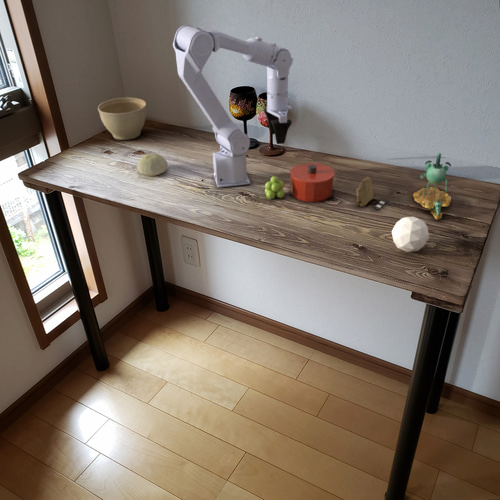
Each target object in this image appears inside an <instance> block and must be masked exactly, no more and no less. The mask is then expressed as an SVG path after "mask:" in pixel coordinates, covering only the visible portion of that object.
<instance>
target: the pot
mask: <svg viewBox="0 0 500 500" xmlns="http://www.w3.org/2000/svg"><path fill="white" fill-rule="evenodd" d="M333 188H334V178H333V179H331V180H330V181H328V182H325V183H319V184H307V183H302V182H298V181H296V180H294V179H293V178H292V177H291V176H290V189H289V190H290V194H291V196H292V197H293V198H295V199H296V200H298V201H303V202H308V203H317V202H323V201H326V200H329V198H330V197H331V196H332V195H333V190H334V189H333Z"/></svg>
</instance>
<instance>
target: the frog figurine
mask: <svg viewBox="0 0 500 500" xmlns="http://www.w3.org/2000/svg"><path fill="white" fill-rule="evenodd" d="M441 158H442V153H441V152H439V153H437V154H436V158H435V159H436V160H435V163H432V160H427V161H425V162H424V166H425V171H424V173H423V174H420V176H419V177H420V179H421V180H422V179H423V178H424V177H425V178H426V180H427V182H428V183H427V185H426V187H422V188H421V189H419V190H417V191H415V192H413V193H412V197H413V199H414V201H415V202H416V203H418V204H420V205H421V207H423V208H425V209H428V210H431V211H430V214H432V216H433V217H434V218H435V220H440V219H442V218H443V217H442V215H443V214H444V213H443V212H442V211H441V210H442V208H444V207H445V208H447V207H449V206H450V204H451V200H452V196H450V195H449V193H447V190H448V189H447V185H448V184H447V183H448V180H447V172H448V171H449V168H450V167H452V164H451V163H450V162H449V161H446V162H445V163H444V164H445V165H444V164H443V163H441ZM444 181H445V188H444V191H443V190H440V189H439V188H438V185H440V184H442V183H443V182H444ZM430 184H432V185H434V186H430Z"/></svg>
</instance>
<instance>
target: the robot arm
mask: <svg viewBox="0 0 500 500" xmlns="http://www.w3.org/2000/svg"><path fill="white" fill-rule="evenodd" d="M172 47H173V49H174V52H175V59H176V67H177V68H176V69H177V74H178V76H179V78H180V80H181V81H182V83H183V84H184V85H185V87H186V88H187V90H188V92H189V93H190V94H191V96H192V97H193V99H194V101H196V102H195V103H197V105H198V106H199V108H200V109H201V111H202V112H203V114H204V115H205V117H206V118H207V120H208V121H209V122H210V124H211V125H212V128H211V129H212V130H213V133H214V136H215V140H216V142H217V144H219V151H217V152H213V153H212V162H213V163H212V164H213V178H214V180H215V184H216V187H217V188H227V187H228V188H229V187H235V186H236V187H237V186H246V185H250V184H251V180H250V178H249V176H248V170H247V152H248V151H249V149H250V146H251V138H250V136H249V135H248V134H247V133H244V132H243V131H242V130H241V129H240V127H239V126H238V125H237V124H236V122H234V121H233V120H232V119H231V117H230V116H229V114H228V112H227V111H226V109H225V108H224V106H223V105H222V103H221V102H220V99H218V97H217V95H216V94H215V92H214V91H213V89H212V87H211V86H210V84H209V83H208V81H207V80H206V78H205V76H204V74H203V69H204V68H205V65H206V63H207V61H208V60H209V58H210V57H211V55H212V53H216V52H218V51H219V50H220V49H224V50H227V51H231V52H235V53H239V54H242V56H243V59H244V60H245V61H247V62H250V63H252V64H253V63H254V64H257V65H260V66H263V67H266V80H267V81H266V97H267V98H266V99H267V101H266V103H267V104H266V105H267V106H266V109H264V110H263V112H264V114H265V117H266V120H267V123H268V128H269V133H270V135H274V136H275V142H276V144H277V145H281V144H285V142H286V139H287V133H288V130H289V128H290V127H291V125H292V123H293V122H292V120H291V119H288V113H289V111H291V110H292V109H293V108H292V106H291V105H290V104H288V103H289V102H288V101H289V97H288V94H289V75H290V68H291V67H292V65H293V61H294V58H293V57H292V55H291V52H290V50H288V49H287V48H284V47H281V46H278V45H277V43H275V42H272V41H271V42H266V41H263V37H260V36H254V37H250V38H247V40H243V39H240V38H237V37H235V36H233V35H230V34H227V33H224V32H221V31H218V30H216V29H211V28H206V27H201V26H193V25H191V24H184V25H182V26H180V27H179V28H177V30H176V32H175V34H174V38H173V43H172Z"/></svg>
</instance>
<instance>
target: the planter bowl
mask: <svg viewBox="0 0 500 500" xmlns="http://www.w3.org/2000/svg"><path fill="white" fill-rule="evenodd" d="M97 111H98V113H99V117H100V119H101V122H102V124H103V125H104V127H105V128H106V130H108V132H109V133H110V134H111V135H112V137H113V138H114V139H115V140H120V141H127V140H128V141H129V140H133V139H136V138H138V137H140V136H141V132H142V130H143V127H144V125H145V122H146V118H147V102H146V101H145V100H143V99H141V98H137V97H117V98H112V99H109V100H106V101H103V102H101V103H100V104H98V106H97Z"/></svg>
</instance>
